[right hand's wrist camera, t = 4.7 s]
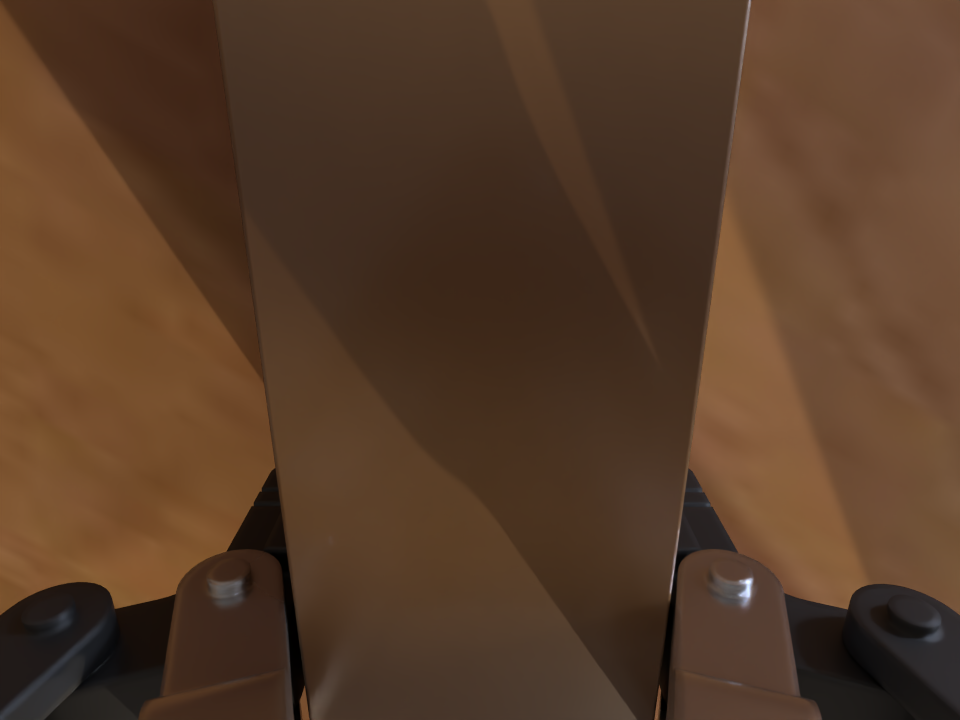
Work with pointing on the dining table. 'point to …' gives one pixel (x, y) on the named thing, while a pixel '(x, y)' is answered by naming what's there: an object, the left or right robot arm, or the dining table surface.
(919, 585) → the dining table surface
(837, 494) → the dining table surface
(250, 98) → the beam
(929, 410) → the dining table surface
